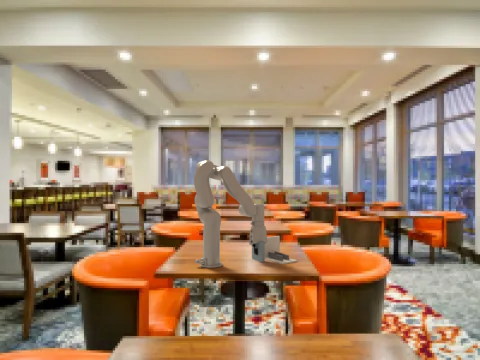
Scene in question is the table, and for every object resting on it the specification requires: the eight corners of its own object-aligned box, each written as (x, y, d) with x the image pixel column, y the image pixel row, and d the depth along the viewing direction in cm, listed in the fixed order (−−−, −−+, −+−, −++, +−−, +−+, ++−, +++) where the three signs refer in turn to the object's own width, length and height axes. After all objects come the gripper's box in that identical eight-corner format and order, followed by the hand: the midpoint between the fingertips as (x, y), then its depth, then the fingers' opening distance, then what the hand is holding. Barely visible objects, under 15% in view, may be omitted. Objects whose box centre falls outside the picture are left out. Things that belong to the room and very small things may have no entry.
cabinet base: (281, 264, 181) (281, 242, 181) (263, 258, 196) (263, 237, 196) (297, 261, 187) (297, 240, 187) (278, 255, 202) (278, 235, 202)
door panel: (259, 262, 185) (259, 242, 185) (250, 259, 193) (250, 239, 193) (264, 261, 187) (264, 241, 187) (255, 258, 195) (255, 239, 195)
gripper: (250, 225, 183) (250, 257, 183) (272, 223, 191) (272, 253, 191) (243, 224, 189) (243, 254, 189) (265, 222, 198) (265, 251, 198)
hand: (258, 254), depth 190 cm, fingers closed on door panel, 2 cm apart
